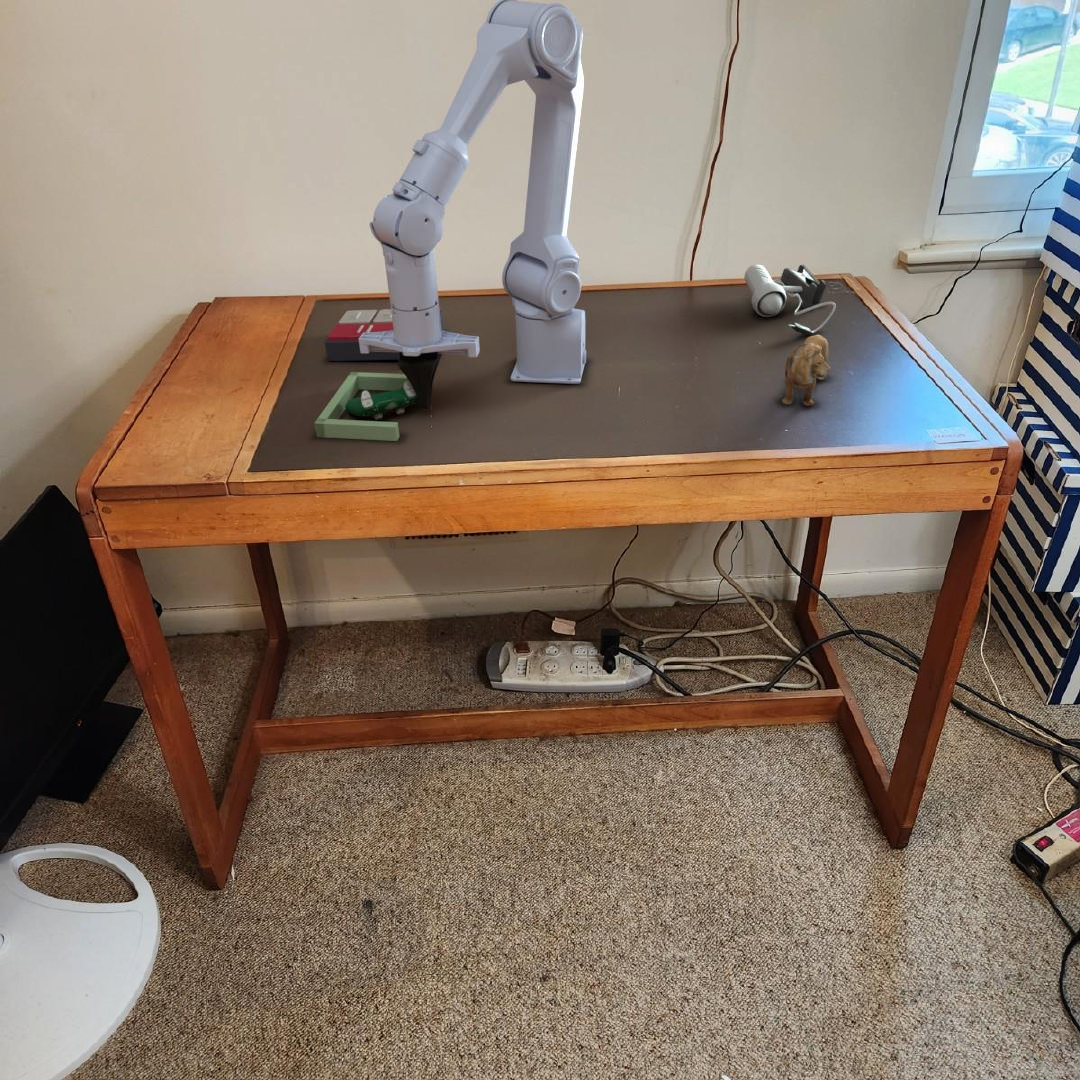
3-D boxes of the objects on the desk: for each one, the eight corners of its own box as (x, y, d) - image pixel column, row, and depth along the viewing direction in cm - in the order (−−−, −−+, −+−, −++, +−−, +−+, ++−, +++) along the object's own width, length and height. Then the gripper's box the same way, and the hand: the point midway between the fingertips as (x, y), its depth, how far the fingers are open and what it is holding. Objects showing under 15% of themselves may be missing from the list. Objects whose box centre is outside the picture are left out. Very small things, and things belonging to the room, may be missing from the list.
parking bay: (426, 388, 120) (424, 374, 119) (397, 441, 109) (395, 426, 108) (353, 385, 122) (351, 371, 120) (317, 437, 110) (314, 422, 109)
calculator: (344, 307, 135) (441, 304, 133) (350, 334, 137) (445, 332, 135) (321, 337, 126) (425, 334, 124) (328, 365, 128) (430, 363, 126)
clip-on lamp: (841, 351, 134) (801, 284, 145) (857, 315, 129) (814, 249, 141) (767, 351, 132) (732, 283, 143) (780, 314, 127) (743, 247, 139)
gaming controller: (352, 431, 115) (357, 416, 109) (343, 404, 115) (348, 387, 110) (419, 414, 118) (428, 399, 112) (410, 388, 118) (418, 371, 113)
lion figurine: (821, 421, 110) (833, 353, 105) (777, 416, 112) (787, 349, 106) (827, 371, 122) (839, 307, 116) (787, 367, 123) (797, 304, 118)
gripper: (344, 313, 103) (361, 418, 111) (467, 317, 102) (475, 423, 109) (363, 291, 109) (377, 392, 117) (479, 294, 107) (486, 397, 115)
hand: (426, 405), depth 114 cm, fingers closed
